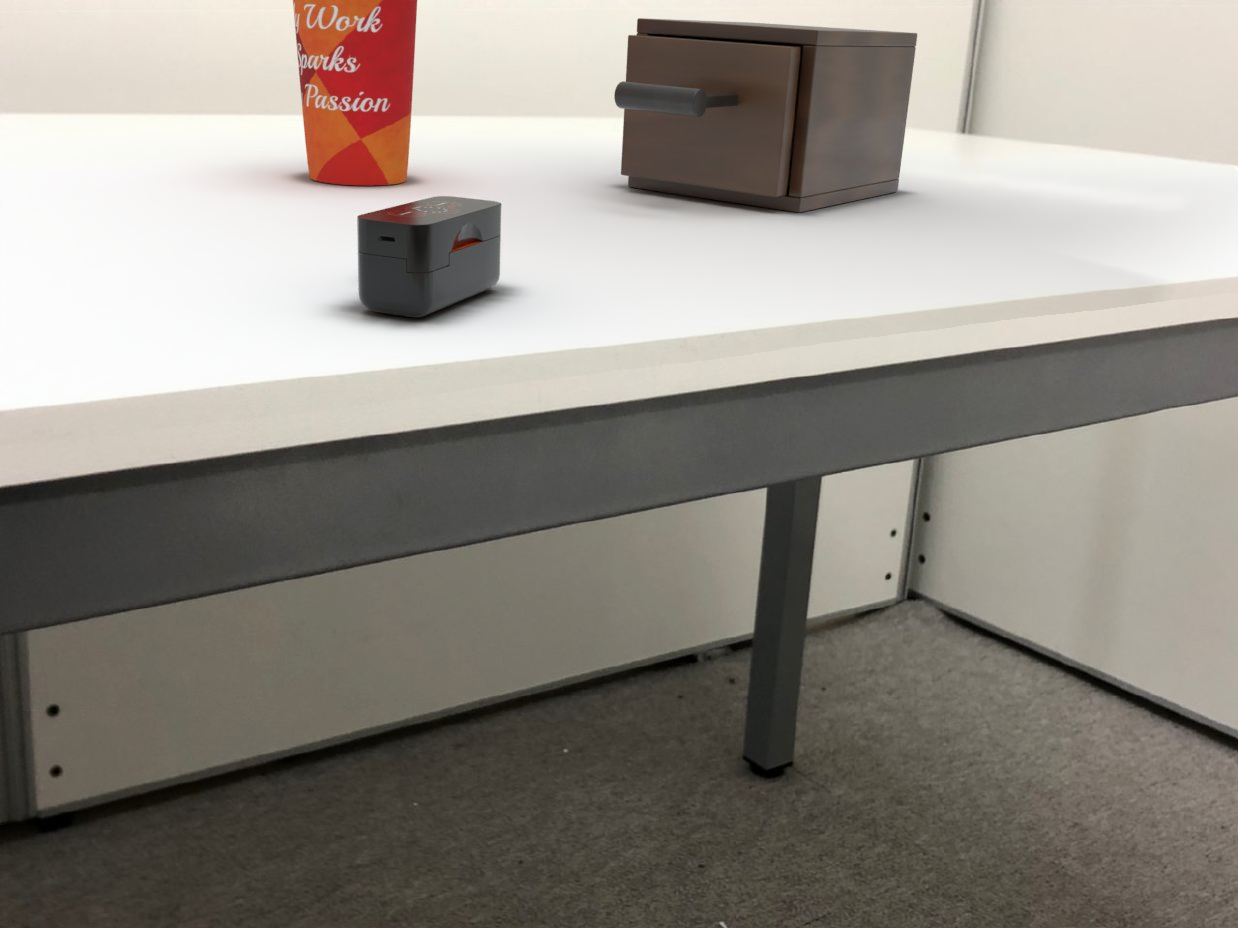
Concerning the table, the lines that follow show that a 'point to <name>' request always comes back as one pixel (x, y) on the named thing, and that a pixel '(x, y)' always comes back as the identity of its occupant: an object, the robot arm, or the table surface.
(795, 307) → the table surface
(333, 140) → the paper cup
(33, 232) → the table surface
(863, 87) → the cabinet
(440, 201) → the wireless earbuds
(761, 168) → the drawer
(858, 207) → the table surface
